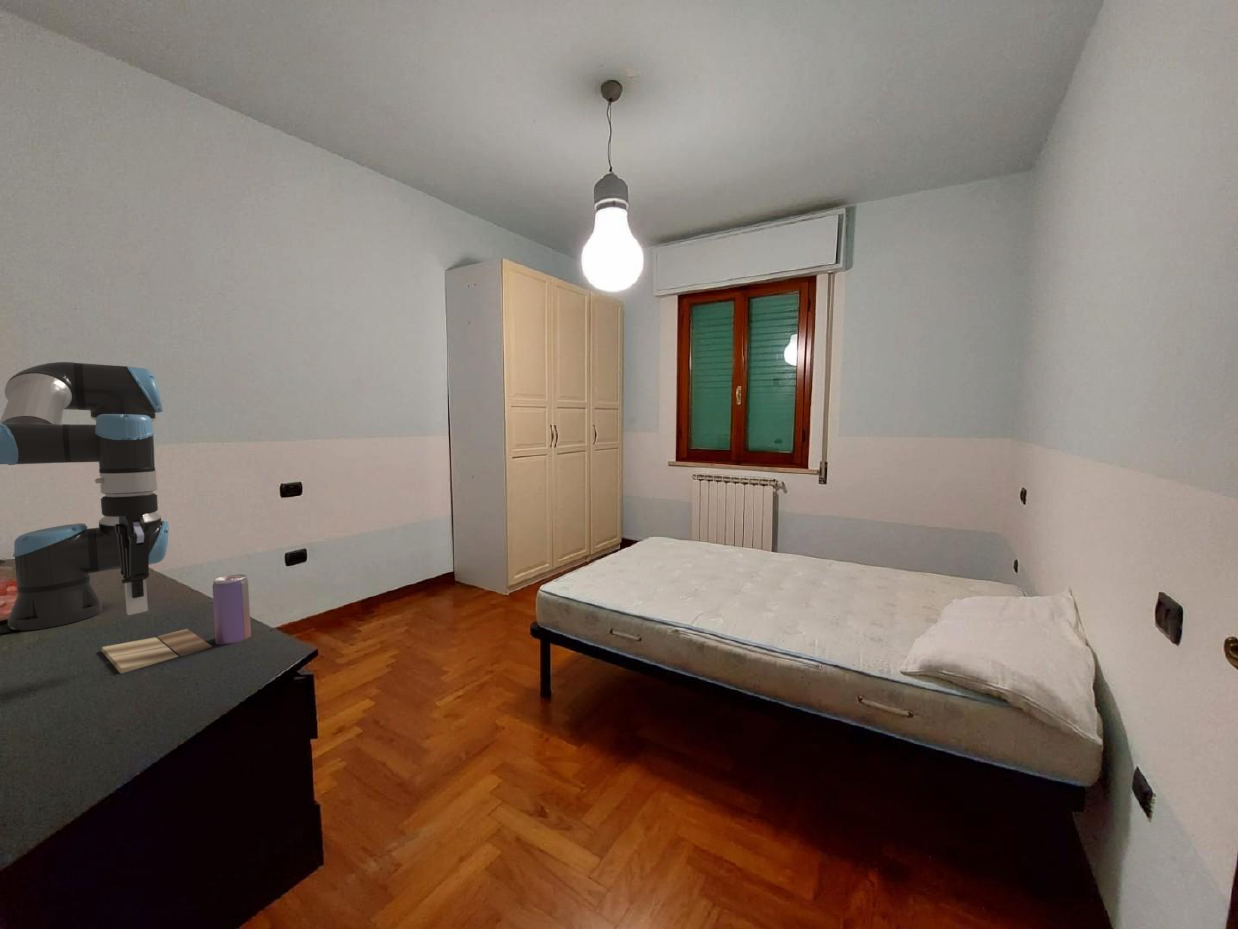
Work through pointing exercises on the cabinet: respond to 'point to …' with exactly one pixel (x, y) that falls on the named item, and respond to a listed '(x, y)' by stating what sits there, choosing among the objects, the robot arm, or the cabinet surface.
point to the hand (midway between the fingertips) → (137, 612)
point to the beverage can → (231, 609)
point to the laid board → (184, 642)
